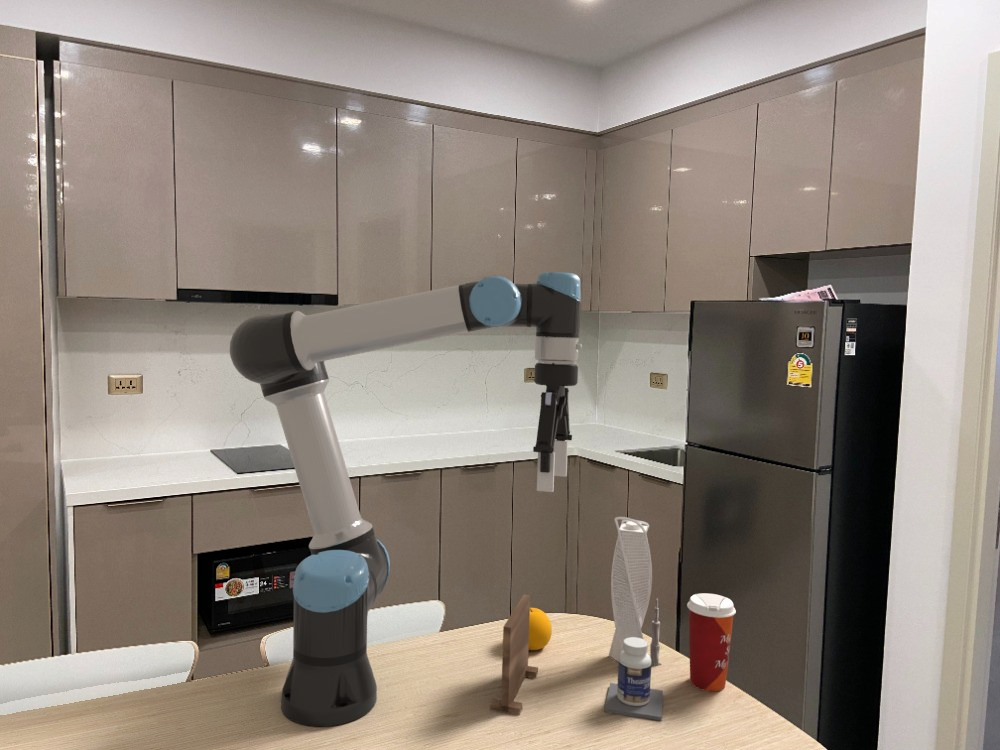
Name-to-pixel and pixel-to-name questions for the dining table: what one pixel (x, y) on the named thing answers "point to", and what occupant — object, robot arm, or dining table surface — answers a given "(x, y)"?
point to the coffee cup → (709, 640)
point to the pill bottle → (634, 672)
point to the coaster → (645, 711)
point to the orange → (538, 629)
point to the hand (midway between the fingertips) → (552, 483)
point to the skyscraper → (632, 587)
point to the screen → (515, 658)
